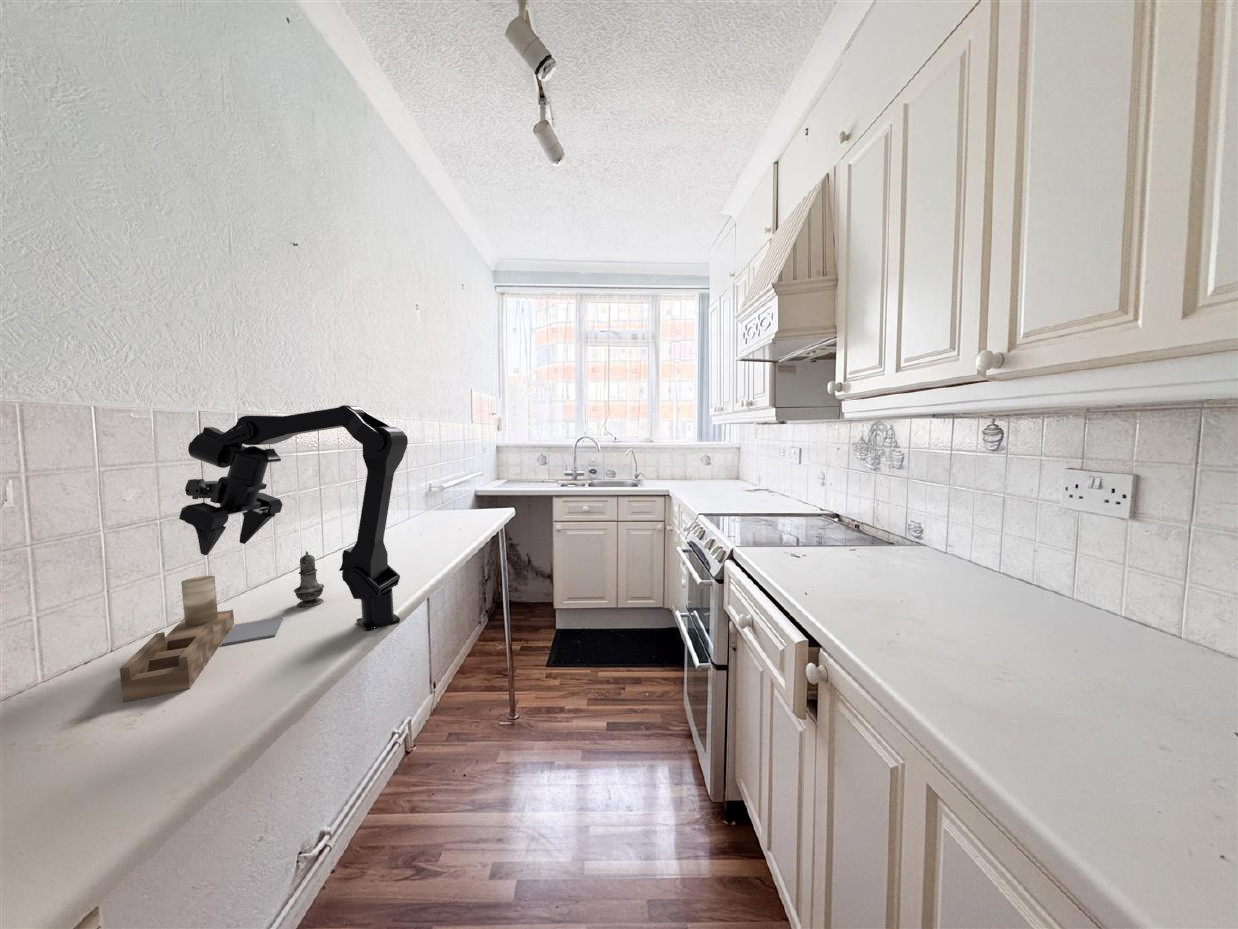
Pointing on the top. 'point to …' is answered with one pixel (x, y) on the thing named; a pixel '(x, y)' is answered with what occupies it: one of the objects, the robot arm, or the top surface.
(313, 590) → the salt shaker
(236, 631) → the mat
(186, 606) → the birch cylinder
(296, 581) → the top surface
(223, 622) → the wooden track
